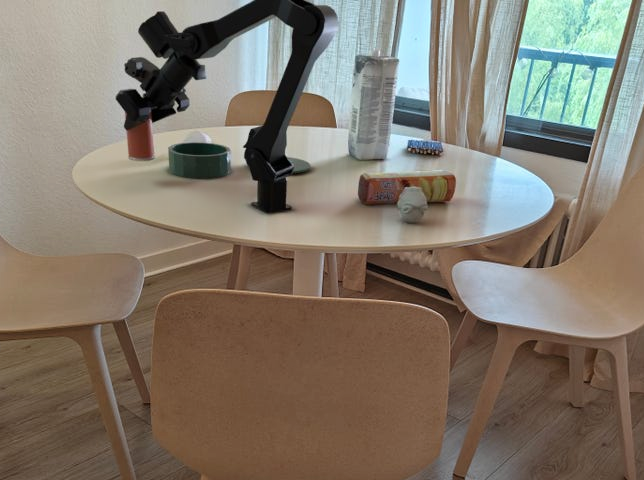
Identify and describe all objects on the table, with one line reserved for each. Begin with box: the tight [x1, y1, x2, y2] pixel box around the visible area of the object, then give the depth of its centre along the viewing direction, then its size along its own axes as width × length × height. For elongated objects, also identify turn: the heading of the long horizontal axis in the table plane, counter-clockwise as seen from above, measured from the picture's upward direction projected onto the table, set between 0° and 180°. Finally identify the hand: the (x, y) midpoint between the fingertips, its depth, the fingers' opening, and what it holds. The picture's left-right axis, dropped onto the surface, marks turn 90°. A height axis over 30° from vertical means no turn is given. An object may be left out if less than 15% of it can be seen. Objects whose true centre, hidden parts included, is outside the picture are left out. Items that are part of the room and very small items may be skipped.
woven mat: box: [406, 139, 444, 156], centre depth 191 cm, size 10×11×2 cm
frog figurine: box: [396, 186, 428, 224], centre depth 130 cm, size 6×7×7 cm
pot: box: [167, 142, 232, 180], centre depth 157 cm, size 15×15×5 cm
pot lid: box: [287, 156, 311, 174], centre depth 163 cm, size 16×16×6 cm
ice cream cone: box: [181, 130, 212, 143], centre depth 170 cm, size 6×6×15 cm
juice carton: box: [347, 50, 400, 161], centre depth 174 cm, size 9×10×27 cm
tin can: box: [124, 96, 156, 162], centre depth 141 cm, size 6×6×12 cm
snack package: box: [357, 169, 457, 205], centre depth 143 cm, size 21×7×7 cm, turn 105°
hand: (134, 126), depth 141 cm, fingers closed on tin can, 5 cm apart
